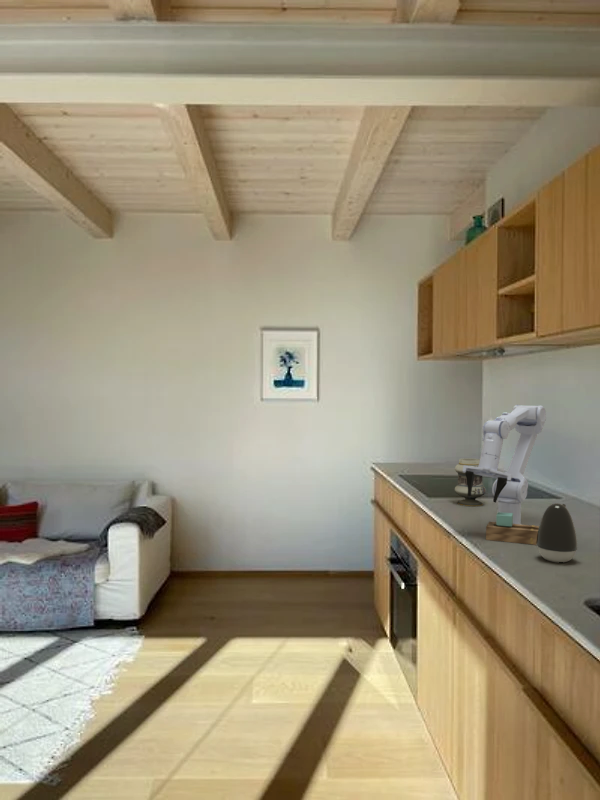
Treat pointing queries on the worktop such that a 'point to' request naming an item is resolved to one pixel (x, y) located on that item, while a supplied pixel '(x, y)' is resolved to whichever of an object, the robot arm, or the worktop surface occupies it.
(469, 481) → the robot arm
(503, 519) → the block
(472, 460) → the apothecary jar
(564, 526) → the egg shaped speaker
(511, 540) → the slotted wooden block
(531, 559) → the worktop surface
